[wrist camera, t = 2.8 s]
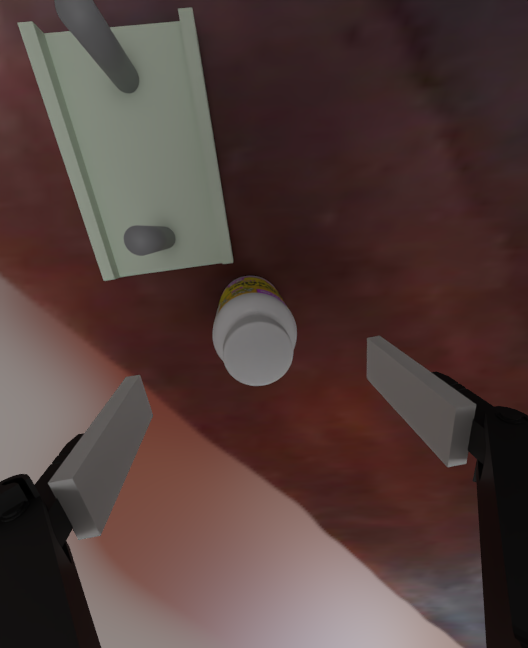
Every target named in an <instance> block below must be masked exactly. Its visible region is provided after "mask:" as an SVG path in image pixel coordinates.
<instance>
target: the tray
mask: <svg viewBox="0 0 528 648" xmlns="http://www.w3.org/2000/svg"><path fill="white" fill-rule="evenodd" d="M55 8H56V11H57V14H58V16H59V18H60V19H61V21H62V22H63V23H64V25H65V26H66V27H67V28H68V29H69V31H66V32H55V33H43V32H42V31H41V30H40V29H39V28H38V27H37V26H36V25H35V24H34V23H33V22H21V23H18V26H19V29H20V32H21V35H22V38H23V41H24V44H25V47H26V50H27V53H28V56H29V59H30V62H31V65H32V68H33V71H34V74H35V77H36V80H37V83H38V86H39V89H40V92H41V95H42V98H43V101H44V104H45V107H46V110H47V113H48V116H49V119H50V122H51V125H52V128H53V131H54V134H55V137H56V140H57V143H58V146H59V149H60V152H61V155H62V158H63V161H64V164H65V167H66V170H67V173H68V176H69V179H70V182H71V185H72V188H73V191H74V194H75V197H76V200H77V203H78V206H79V209H80V212H81V214H82V217H83V220H84V223H85V226H86V229H87V232H88V235H89V238H90V241H91V244H92V247H93V250H94V253H95V256H96V259H97V262H98V265H99V268H100V271H101V274H102V277H103V280H104V281H106V280H114V279H117V278H119V277H125V276H132V275H139V274H146V273H154V272H161V271H168V270H175V269H182V268H190V267H197V266H204V265H211V264H218V263H223V264H229V263H233V254H232V247H231V241H230V235H229V229H228V223H227V216H226V210H225V204H224V198H223V191H222V185H221V179H220V173H219V167H218V160H217V154H216V148H215V142H214V135H213V129H212V123H211V117H210V111H209V104H208V98H207V92H206V86H205V79H204V73H203V67H202V61H201V55H200V48H199V42H198V36H197V30H196V25H195V20H194V15H193V10H192V7H191V8H179V9H178V12H179V18H180V21H176V22H165V23H154V24H143V25H132V26H121V27H109V26H108V24H107V23H106V21H105V19H104V18H103V16H102V15H101V13H100V11H99V10H98V8H97V7H96V5H95V3H94V2H93V0H55Z"/></svg>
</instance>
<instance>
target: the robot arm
mask: <svg viewBox="0 0 528 648" xmlns="http://www.w3.org/2000/svg"><path fill="white" fill-rule="evenodd" d="M367 379H368V380H369V381H370V383H371V384H372V385H373V386H374V387H375V388H376V389H377V390H378V391H379V392H380V394H381V395H382V396H383V397H384V398H385V399H386V400H387V401H388V402H389V403H390V405H391V406H392V407H393V408H394V409H395V410H396V411H397V412H398V413H399V414H400V415H401V417H402V418H403V419H404V420H405V421H406V422H407V423H408V424H409V425H410V426H411V428H412V429H413V430H414V431H415V432H416V433H417V434H418V435H419V436H420V437H421V439H422V440H423V441H424V442H425V443H426V444H427V445H428V446H429V447H430V448H431V450H432V451H433V452H434V453H435V454H436V455H437V456H438V457H439V458H440V459H441V461H442V462H443V463H444V464H445V465H446V466H447V467H451V466H456V465H461V464H466V462H467V456H468V451H469V452H470V453H471V454H472V455H473V456H474V457H475V458H476V459H477V462H476V467H475V472H474V478H473V481H474V482H477V497H478V514H479V530H480V547H481V564H482V580H483V597H484V614H485V630H486V647H487V648H528V416H527V415H526V414H524V413H522V412H520V411H518V410H515V409H512V408H508V407H501V406H496V407H493V406H492V405H491V404H489V403H488V402H486V401H485V400H483V399H482V398H480V397H479V396H477V395H476V394H474V393H473V392H471V391H470V390H468V389H466V388H465V387H464V386H462V385H461V384H458V382H456V381H455V380H453V379H452V378H450V377H449V376H446V375H444V374H441V373H439V372H430V371H428V370H427V369H426V368H424V367H423V366H421V365H420V364H419V363H417V362H416V361H414V360H413V359H412V358H410V357H409V356H407V355H406V354H404V353H403V352H402V351H400V350H399V349H397V348H396V347H395V346H393V345H392V344H390V343H389V342H388V341H386V340H385V339H383V338H382V337H381V336H376V337H370V338H367ZM152 417H153V414H152V411H151V408H150V404H149V401H148V398H147V395H146V392H145V389H144V386H143V383H142V380H141V377H140V375H136V376H130V377H126V378H125V379H124V380H123V382H122V383H121V385H120V386H119V387H118V389H117V390H116V391H115V393H114V394H113V395H112V397H111V398H110V400H109V401H108V402H107V403H106V405H105V406H104V408H103V409H102V410H101V412H100V413H99V414H98V416H97V417H96V418H95V420H94V421H93V422H92V424H91V425H90V427H89V428H88V429H87V431H86V432H85V433H84V434H78V435H77V436H76V437H75V438H74V439H72V440H71V441H70V442H68V443H67V444H66V446H65V447H64V448H63V449H62V451H61V452H60V453H59V456H57V457H56V458H55V460H54V461H53V462H52V464H51V465H50V466H49V467H48V468H47V470H46V471H45V472H44V474H43V475H42V476H41V477H40V479H39V480H38V481H37V482H36V484H35V485H34V484H33V482H32V480H31V479H30V477H29V476H28V475H27V474H19V475H15V476H12V477H10V478H7V479H5V480H3V481H1V482H0V648H101V646H100V642H99V639H98V636H97V633H96V630H95V627H94V624H93V621H92V617H91V614H90V611H89V608H88V604H87V601H86V598H85V595H84V592H83V589H82V586H81V582H80V579H79V576H78V573H77V570H76V567H75V563H74V561H73V557H72V554H71V551H70V548H69V545H68V544H67V542H66V540H67V538H68V536H69V534H70V532H71V531H72V529H73V531H74V532H75V534H76V536H77V538H78V540H80V539H86V538H91V537H96V536H101V533H102V531H103V529H104V526H105V524H106V522H107V520H108V517H109V515H110V513H111V511H112V508H113V506H114V504H115V501H116V499H117V497H118V494H119V492H120V490H121V488H122V485H123V483H124V481H125V478H126V476H127V474H128V472H129V469H130V467H131V465H132V462H133V460H134V458H135V455H136V453H137V451H138V449H139V446H140V444H141V442H142V440H143V437H144V435H145V433H146V430H147V428H148V426H149V423H150V421H151V419H152Z"/></svg>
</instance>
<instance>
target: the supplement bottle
mask: <svg viewBox="0 0 528 648" xmlns="http://www.w3.org/2000/svg"><path fill="white" fill-rule="evenodd" d="M296 339H297V327H296V323H295V320H294V317H293V315H292V313H291V312H290V310H289V308H288V307H287V305H286V304H285V302H284V301H283V299H282V298H281V296H280V295H279V293H278V291H277V290H276V288H275V287H274V286H273V285H272V284H271V283H270V282H269V281H267V280H266V279H264V278H261V277H258V276H243V277H240V278H238V279H236V280H234V281H232V282H231V283H230V284H229V285H228V286H227V287H226V288H225V290H224V291H223V293H222V295H221V298H220V301H219V306H218V309H217V313H216V317H215V321H214V325H213V343H214V347H215V349H216V352H217V354H218V355H219V357H220V358H221V359H222V361H223V362H224V364H225V367H226V369H227V370H228V372H229V373H230V374H231V375H232V376H233V377H234V378H235V379H236V380H238V381H239V382H241V383H244V384H247V385H252V386H262V385H267V384H270V383H273V382H275V381H276V380H278V379H279V378H281V377H282V376H283V375H284V374H285V373H286V372H287V370H288V369H289V367H290V365H291V363H292V359H293V350H294V347H295V344H296Z"/></svg>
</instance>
